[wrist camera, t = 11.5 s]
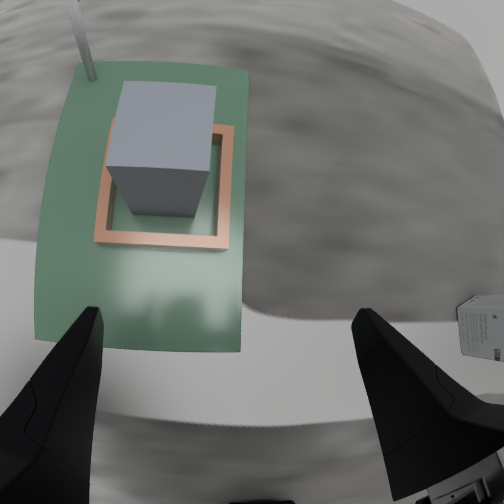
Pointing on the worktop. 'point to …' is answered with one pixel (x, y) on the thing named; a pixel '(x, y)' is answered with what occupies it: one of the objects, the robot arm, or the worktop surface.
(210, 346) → the green base plate
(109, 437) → the worktop surface
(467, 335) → the skincare box
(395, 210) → the worktop surface
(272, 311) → the worktop surface
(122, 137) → the grey block
